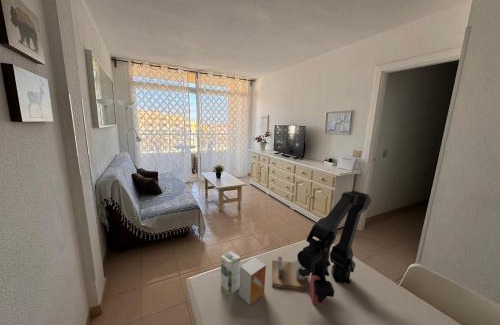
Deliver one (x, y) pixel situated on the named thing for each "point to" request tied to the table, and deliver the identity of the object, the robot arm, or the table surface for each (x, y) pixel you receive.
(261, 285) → the small box
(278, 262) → the bookend
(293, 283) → the shelf
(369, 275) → the table surface
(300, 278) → the shelved books
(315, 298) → the red flat-faced block
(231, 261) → the syrup box
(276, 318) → the table surface
